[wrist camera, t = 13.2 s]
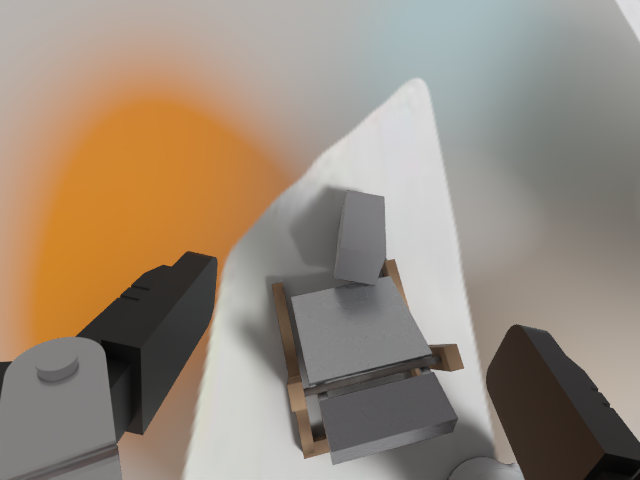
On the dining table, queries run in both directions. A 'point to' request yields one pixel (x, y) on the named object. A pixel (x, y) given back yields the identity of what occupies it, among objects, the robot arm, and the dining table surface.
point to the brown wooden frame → (442, 359)
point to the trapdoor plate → (369, 369)
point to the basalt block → (361, 238)
